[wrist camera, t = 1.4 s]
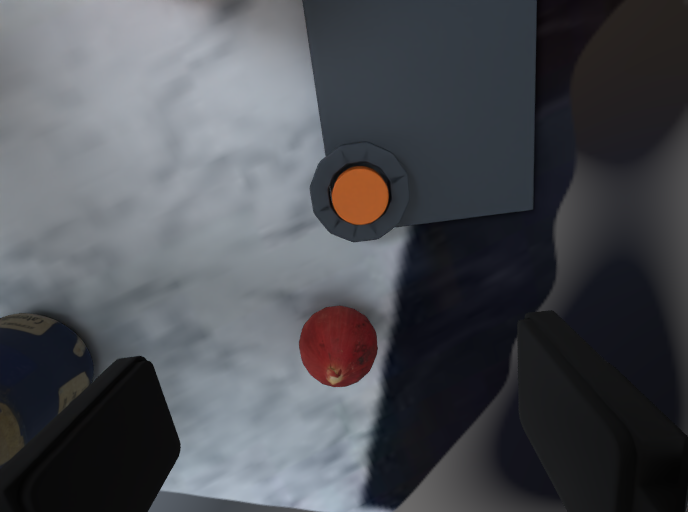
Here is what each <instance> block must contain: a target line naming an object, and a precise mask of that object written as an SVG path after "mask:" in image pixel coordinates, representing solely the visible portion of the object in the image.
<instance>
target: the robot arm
mask: <svg viewBox="0 0 688 512" xmlns="http://www.w3.org/2000/svg"><path fill="white" fill-rule="evenodd" d="M517 331H518V394H519V417H520V421H521V424H522V426H523V429H524V431H525V433H526V434H527V436H528V438H529V440H530V442H531V444H532V446H533V448H534V449H535V451H536V453H537V455H538V457H539V459H540V461H541V463H542V465H543V466H544V468H545V470H546V472H547V474H548V476H549V478H550V479H551V481H552V483H553V485H554V487H555V489H556V491H557V493H558V495H559V496H560V498H561V500H562V502H563V504H564V506H565V508H566V509H567V512H688V437H687V435H685V434H684V433H683V432H682V431H681V430H680V429H679V428H678V427H677V426H676V425H675V424H674V423H673V422H672V421H671V420H670V419H669V418H668V417H666V416H665V415H664V414H663V413H662V412H661V411H660V410H659V409H658V408H657V407H656V406H655V405H654V404H653V403H652V402H651V401H649V399H648V398H646V397H645V396H644V395H643V394H642V393H641V392H640V391H639V390H638V389H637V388H636V387H635V386H634V385H633V384H632V383H631V382H630V381H629V380H627V378H626V377H624V376H623V375H622V374H621V373H620V372H619V371H618V370H617V369H616V368H615V367H614V366H612V365H611V364H610V363H607V362H606V361H605V360H604V359H603V358H602V357H601V356H600V355H599V354H598V353H597V352H596V351H595V350H593V348H592V347H590V345H588V344H587V343H586V342H585V341H584V340H583V339H582V338H581V337H580V336H579V335H578V334H577V333H576V332H575V331H574V330H573V329H572V328H571V327H570V326H569V325H567V324H566V323H565V321H563V320H562V319H561V318H560V317H559V316H558V315H557V314H556V313H555V312H554V311H542V312H532V313H527V314H526V315H525V318H524V320H519V321H518V326H517ZM180 448H181V447H180V440H179V437H178V434H177V432H176V429H175V426H174V423H173V420H172V417H171V415H170V412H169V409H168V406H167V403H166V400H165V397H164V395H163V392H162V389H161V386H160V383H159V380H158V378H157V375H156V372H155V369H154V366H153V364H152V363H151V362H150V361H147V360H146V359H145V358H144V357H142V356H136V357H127V358H120V359H117V360H116V361H115V362H114V363H112V364H111V365H110V366H109V367H108V368H107V369H106V370H105V371H104V372H103V373H102V374H101V375H100V376H99V377H98V378H96V379H95V380H94V381H93V382H92V383H91V384H90V385H89V386H88V387H87V388H86V389H85V390H84V391H83V392H82V393H80V394H79V395H78V396H77V397H76V398H75V399H74V400H73V401H72V402H71V403H70V404H69V405H68V406H67V407H66V408H64V409H63V410H62V411H61V412H60V413H59V414H58V415H57V416H56V417H55V418H54V419H53V420H52V421H51V422H50V423H48V424H47V425H46V426H45V427H44V428H43V429H42V430H41V431H40V432H39V433H38V434H37V435H36V436H35V437H34V438H32V439H31V440H30V441H29V442H28V443H27V444H26V445H25V446H24V447H23V448H22V449H21V450H20V451H19V452H18V453H16V454H15V455H14V456H13V457H12V458H11V459H10V460H9V461H8V462H7V463H6V464H5V465H4V466H3V467H2V468H0V512H148V510H149V508H150V507H151V505H152V503H153V501H154V499H155V498H156V496H157V494H158V492H159V491H160V489H161V487H162V485H163V484H164V482H165V480H166V478H167V476H168V475H169V473H170V471H171V469H172V468H173V466H174V464H175V462H176V460H177V459H178V457H179V454H180Z"/></svg>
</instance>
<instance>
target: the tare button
mask: <svg viewBox="0 0 688 512" xmlns="http://www.w3.org/2000/svg"><path fill="white" fill-rule="evenodd" d="M388 199H389V193H388V188H387V185H386V183H385V181H384V180H383V178H382V177H381V176H380V174H379V173H377V172H376V171H375V170H373V169H371V168H369V167H365V166H356V167H352V168H349V169H347V170H345V171H344V172H343V173H342V174H341V175H340V176H339V177H338V178H337V180H336V182H335V184H334V188H333V192H332V202H333V206H334V208H335V210H336V212H337V213H338V215H339V216H340V217H341V218H342V219H344V220H345V221H347V222H349V223H352V224H356V225H364V224H368V223H371V222H373V221H375V220H377V219H378V218H379V217H380V216H381V215H382V214H383V213H384V211H385V209H386V207H387V204H388Z"/></svg>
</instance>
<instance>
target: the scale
mask: <svg viewBox="0 0 688 512" xmlns="http://www.w3.org/2000/svg"><path fill="white" fill-rule="evenodd" d="M302 1H303V7H304V14H305V21H306V27H307V34H308V41H309V48H310V54H311V61H312V68H313V74H314V81H315V88H316V95H317V101H318V108H319V115H320V121H321V128H322V135H323V142H324V148H325V155H326V157H325V158H323V159H322V160H321V161H320V163H319V164H318V166H317V169H316V172H315V174H314V177H313V180H312V182H311V185H310V194H311V200H312V206H313V212H314V214H315V215H316V217H317V218H318V219H319V220H320V222H321V223H322V224H323V225H324V226H325V228H326V229H327V230H328V231H329V232H330V233H331V234H334V235H336V236H339V237H341V238H344V239H346V240H349V241H351V242H360V241H368V240H376V239H379V238H380V237H382V236H383V235H385V234H386V233H387V232H389V231H390V230H392V229H393V228H394V227H402V226H410V225H417V224H425V223H433V222H441V221H449V220H456V219H464V218H472V217H480V216H487V215H495V214H503V213H511V212H519V211H526V210H533V188H534V130H535V73H536V16H537V0H302ZM356 166H365V167H369V168H371V169H373V170H375V171H376V172H377V173H379V174H380V176H381V177H382V178H383V180H384V181H385V183H386V185H387V188H388V193H389V199H388V204H387V207H386V209H385V211H384V213H383V214H382V215H381V216H380V217H379V218H378V219H377V220H375V221H373V222H371V223H368V224H364V225H356V224H352V223H349V222H347V221H345V220H344V219H342V218H341V217H340V216H339V215H338V213H337V212H336V210H335V208H334V206H333V203H332V201H331V195H332V192H333V188H334V184H335V182H336V180H337V178H338V177H339V176H340V175H341V174H342V173H343V172H344V171H345V170H347V169H349V168H352V167H356ZM329 187H330V188H329ZM330 189H331V194H330Z"/></svg>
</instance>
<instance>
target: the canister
mask: <svg viewBox="0 0 688 512" xmlns="http://www.w3.org/2000/svg"><path fill="white" fill-rule="evenodd" d="M93 372H94V368H93V362H92V358H91V355H90V353H89V351H88V349H87V347H86V345H85V344H84V342H83V341H82V340H81V339H80V337H79V336H78V335H77V334H75V333H74V332H73V331H72V330H71V329H69V328H68V327H67V326H65V325H63V324H62V323H60V322H58V321H56V320H54V319H51V318H48V317H45V316H42V315H37V314H27V313H19V314H13V315H8V316H5V317H2V318H0V468H2V467H3V466H4V465H5V464H6V463H7V462H8V461H9V460H10V459H11V458H12V457H13V456H14V455H15V454H16V453H18V452H19V451H20V450H21V449H22V448H23V447H24V446H25V445H26V444H27V443H28V442H29V441H30V440H31V439H32V438H34V437H35V436H36V435H37V434H38V433H39V432H40V431H41V430H42V429H43V428H44V427H45V426H46V425H47V424H48V423H50V422H51V421H52V420H53V419H54V418H55V417H56V416H57V415H58V414H59V413H60V412H61V411H62V410H63V409H64V408H66V407H67V406H68V405H69V404H70V403H71V402H72V401H73V400H74V399H75V398H76V397H77V396H78V395H79V394H80V393H82V392H83V391H84V390H85V389H86V388H87V387H88V386H89V385H90V384H91V383H92V379H93Z"/></svg>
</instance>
